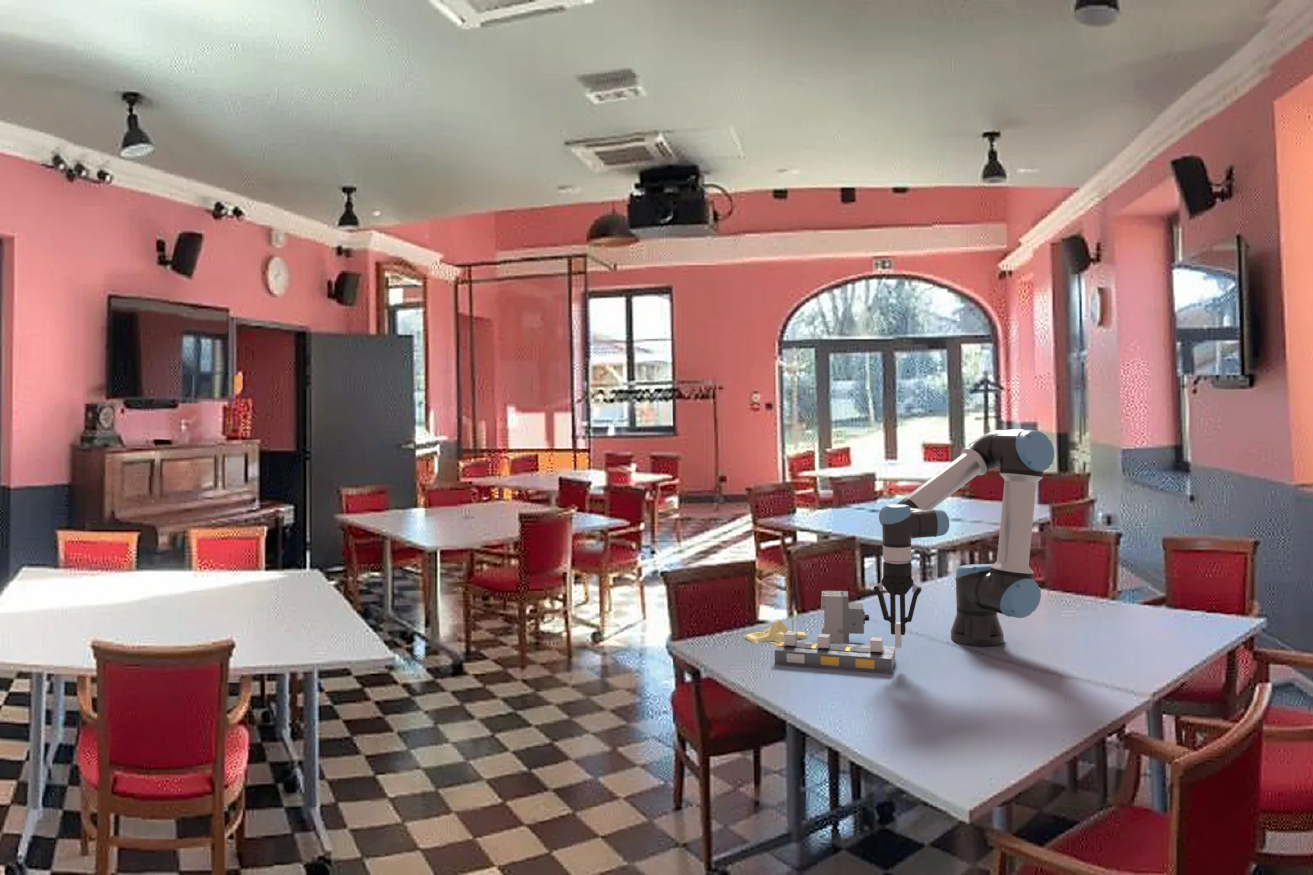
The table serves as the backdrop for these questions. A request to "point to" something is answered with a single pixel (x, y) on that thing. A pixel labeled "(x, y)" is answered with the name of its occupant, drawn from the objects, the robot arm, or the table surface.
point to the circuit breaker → (841, 616)
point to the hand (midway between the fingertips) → (898, 646)
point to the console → (836, 656)
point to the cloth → (772, 634)
